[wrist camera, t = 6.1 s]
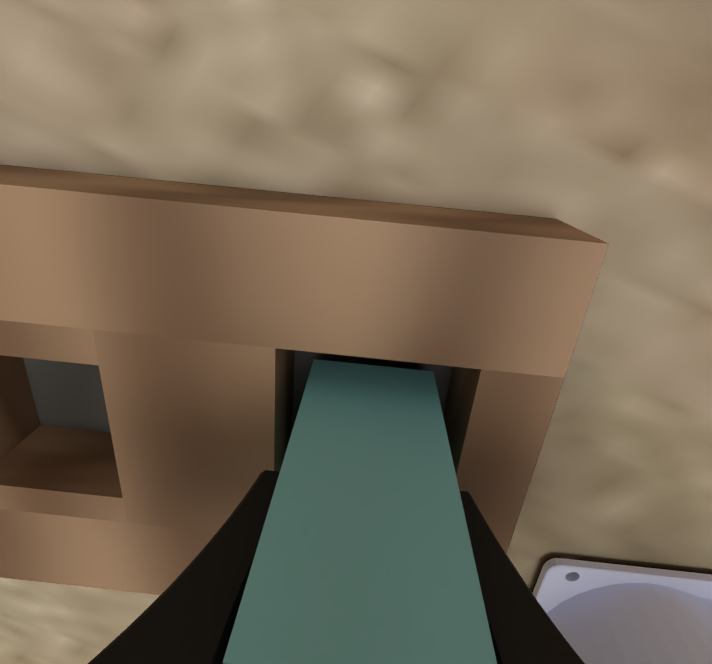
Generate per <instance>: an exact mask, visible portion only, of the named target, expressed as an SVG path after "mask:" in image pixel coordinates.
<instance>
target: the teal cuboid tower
mask: <svg viewBox="0 0 712 664" xmlns="http://www.w3.org/2000/svg"><path fill="white" fill-rule="evenodd" d="M223 664H497V661H496V656H495V652H494V647H493V643H492V638H491V633H490V629H489V624H488V620H487V615H486V610H485V606H484V601H483V597H482V592H481V587H480V583H479V578H478V574H477V569H476V565H475V560H474V555H473V551H472V546H471V542H470V537H469V532H468V528H467V523H466V519H465V514H464V510H463V505H462V500H461V496H460V491H459V487H458V482H457V477H456V473H455V468H454V464H453V459H452V454H451V450H450V445H449V441H448V436H447V432H446V427H445V422H444V418H443V413H442V409H441V404H440V399H439V395H438V390H437V386H436V381H435V376H434V372H433V371H424V370H414V369H405V368H395V367H385V366H375V365H366V364H356V363H346V362H337V361H327V360H317V359H314V360H313V363H312V367H311V370H310V373H309V377H308V380H307V383H306V387H305V390H304V393H303V397H302V400H301V403H300V407H299V410H298V413H297V417H296V420H295V423H294V427H293V430H292V433H291V437H290V440H289V443H288V447H287V450H286V453H285V457H284V460H283V463H282V467H281V470H280V473H279V477H278V480H277V483H276V487H275V490H274V493H273V496H272V500H271V503H270V506H269V510H268V513H267V516H266V520H265V523H264V526H263V530H262V533H261V536H260V540H259V543H258V546H257V550H256V553H255V556H254V560H253V563H252V566H251V570H250V573H249V576H248V580H247V583H246V586H245V590H244V593H243V596H242V600H241V603H240V606H239V610H238V613H237V616H236V620H235V623H234V626H233V630H232V633H231V636H230V640H229V643H228V646H227V650H226V653H225V656H224V660H223Z"/></svg>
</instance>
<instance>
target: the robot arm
mask: <svg viewBox="0 0 712 664" xmlns="http://www.w3.org/2000/svg"><path fill="white" fill-rule="evenodd" d="M279 473H280V472H279V471H269V470H264V471H263V472H262V473H260V475H259V476H258V478H257V479H256V481H255V482H254V484H253V485H252V487H251V488H250V490H249V491H248V492H247V494H246V495H245V497H244V498H243V499H242V501H241V502H240V503H239V505H238V506H237V507H236V509H235V510H234V511H233V513H232V514H231V515H230V517H229V518H228V519H227V520H226V522H225V523H224V524H223V525H222V527H221V528H220V529H219V530H218V531H217V533H216V534H215V535H214V536H213V538H212V539H211V540H210V541H209V543H208V544H207V545H206V546H205V547H204V548H203V550H202V551H201V552H200V553H199V554H198V555H197V556H196V557H195V559H194V560H193V561H192V562H191V563H190V564H189V565H188V566H187V567H186V569H185V570H184V571H183V572H182V573H181V574H180V575H179V576H178V577H177V579H176V580H175V581H174V582H173V583H172V584H171V585H170V586H169V587H168V588H167V589H166V590H165V591H164V592H163V593H162V594H161V595H160V596H159V597H158V598H157V599H156V600H155V601H154V602H153V603H152V604H151V605H150V606H149V607H148V608H147V609H146V610H145V611H144V612H143V613H142V614H141V615H140V616H139V617H138V618H137V619H136V620H135V621H134V622H133V623H132V624H131V625H130V626H129V627H128V628H127V629H126V630H124V631H123V632H122V633H121V634H120V635H119V636H118V637H117V638H116V639H115V640H113V641H112V642H111V643H110V644H109V645H108V646H107V647H106V648H105V649H104V650H102V651H101V652H100V653H99V654H98V655H97V656H96V657H95V658H94V659H93V660H91V661H90V662H89V663H88V664H223V660H224V656H225V653H226V650H227V646H228V643H229V640H230V636H231V633H232V630H233V626H234V623H235V620H236V616H237V613H238V610H239V606H240V603H241V600H242V596H243V593H244V590H245V586H246V583H247V580H248V576H249V573H250V570H251V566H252V563H253V560H254V556H255V553H256V550H257V546H258V543H259V540H260V536H261V533H262V530H263V526H264V523H265V520H266V516H267V513H268V510H269V506H270V503H271V500H272V496H273V493H274V490H275V487H276V483H277V480H278V477H279ZM460 496H461V500H462V505H463V510H464V514H465V519H466V523H467V528H468V532H469V537H470V542H471V546H472V551H473V555H474V560H475V565H476V569H477V574H478V578H479V583H480V587H481V592H482V597H483V601H484V606H485V610H486V615H487V620H488V624H489V629H490V633H491V638H492V643H493V647H494V652H495V656H496V661H497V664H712V574H702V573H693V572H684V571H675V570H665V569H656V568H647V567H638V566H628V565H619V564H610V563H600V562H591V561H582V560H573V559H563V558H553V559H550V560H548V561H546V562H545V564H544V565H543V567H542V570H541V573H540V575H539V578H538V580H537V583H536V586H535V588H534V591H533V593H532V592H531V591H530V589H529V588H528V587H527V585H526V584H525V582H524V580H523V579H522V577H521V576H520V574H519V573H518V571H517V570H516V568H515V567H514V565H513V564H512V562H511V561H510V559H509V558H508V556H507V555H506V553H505V551H504V550H503V548H502V547H501V545H500V544H499V542H498V540H497V539H496V537H495V535H494V534H493V532H492V530H491V529H490V527H489V525H488V524H487V522H486V520H485V519H484V517H483V515H482V513H481V512H480V510H479V508H478V506H477V505H476V503H475V501H474V499H473V498H472V496H471V495H470V493H469V492H468V491H460Z"/></svg>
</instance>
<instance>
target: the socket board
mask: <svg viewBox="0 0 712 664" xmlns="http://www.w3.org/2000/svg"><path fill="white" fill-rule="evenodd" d="M608 245H609V244H608V243H606V242H604V241H602V240H600V239H597V238H595V237H593V236H591V235H589V234H587V233H585V232H583V231H581V230H578V229H576V228H574V227H572V226H570V225H568V224H566V223H564V222H562V221H560V220H557V219H551V218H541V217H531V216H521V215H510V214H500V213H490V212H480V211H469V210H459V209H449V208H439V207H428V206H418V205H408V204H398V203H387V202H377V201H367V200H357V199H346V198H336V197H326V196H315V195H305V194H295V193H285V192H274V191H264V190H254V189H244V188H233V187H223V186H213V185H203V184H192V183H182V182H172V181H162V180H151V179H141V178H131V177H121V176H110V175H100V174H90V173H80V172H69V171H59V170H49V169H38V168H28V167H18V166H8V165H0V577H3V578H12V579H21V580H30V581H39V582H48V583H57V584H66V585H75V586H84V587H93V588H102V589H111V590H120V591H130V592H139V593H148V594H157V595H161V594H162V593H163V592H164V591H165V590H166V589H167V588H168V587H169V586H170V585H171V584H172V583H173V582H174V581H175V580H176V579H177V577H178V576H179V575H180V574H181V573H182V572H183V571H184V570H185V569H186V567H187V566H188V565H189V564H190V563H191V562H192V561H193V560H194V559H195V557H196V556H197V555H198V554H199V553H200V552H201V551H202V550H203V548H204V547H205V546H206V545H207V544H208V543H209V541H210V540H211V539H212V538H213V536H214V535H215V534H216V533H217V531H218V530H219V529H220V528H221V527H222V525H223V524H224V523H225V522H226V520H227V519H228V518H229V517H230V515H231V514H232V513H233V511H234V510H235V509H236V507H237V506H238V505H239V503H240V502H241V501H242V499H243V498H244V497H245V495H246V494H247V492H248V491H249V490H250V488H251V487H252V485H253V484H254V482H255V481H256V479H257V478H258V476H259V475H260V473H262V472H263V471H264V470H269V471H279V472H280V470H281V467H282V463H283V460H284V457H285V453H286V450H287V447H288V443H289V440H290V437H291V433H292V430H293V427H294V423H295V420H296V417H297V413H298V410H299V407H300V403H301V400H302V397H303V393H304V390H305V387H306V383H307V380H308V377H309V373H310V370H311V367H312V363H313V360H314V359H317V360H327V361H337V362H346V363H356V364H366V365H375V366H385V367H395V368H405V369H414V370H424V371H433V372H434V376H435V381H436V386H437V390H438V395H439V399H440V404H441V409H442V413H443V418H444V422H445V427H446V432H447V436H448V441H449V445H450V450H451V454H452V459H453V464H454V468H455V473H456V477H457V482H458V487H459V491H468V492H469V493H470V495H471V496H472V498H473V499H474V501H475V503H476V505H477V506H478V508H479V510H480V512H481V513H482V515H483V517H484V519H485V520H486V522H487V524H488V525H489V527H490V529H491V530H492V532H493V534H494V535H495V537H496V539H497V540H498V542H499V544H500V545H501V547H502V548H503V550H504V551H505V553H507V550H508V547H509V544H510V541H511V538H512V535H513V532H514V529H515V526H516V523H517V520H518V517H519V514H520V511H521V508H522V505H523V502H524V499H525V496H526V493H527V490H528V487H529V484H530V481H531V478H532V475H533V471H534V468H535V465H536V462H537V459H538V456H539V453H540V450H541V447H542V444H543V441H544V438H545V435H546V432H547V429H548V426H549V423H550V420H551V417H552V414H553V411H554V408H555V405H556V402H557V399H558V396H559V393H560V390H561V387H562V384H563V381H564V378H565V375H566V372H567V369H568V366H569V363H570V360H571V357H572V354H573V350H574V347H575V344H576V341H577V338H578V335H579V332H580V329H581V326H582V323H583V320H584V317H585V314H586V311H587V308H588V305H589V302H590V299H591V296H592V293H593V290H594V287H595V284H596V281H597V278H598V275H599V272H600V269H601V266H602V263H603V260H604V257H605V254H606V251H607V248H608Z"/></svg>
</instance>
